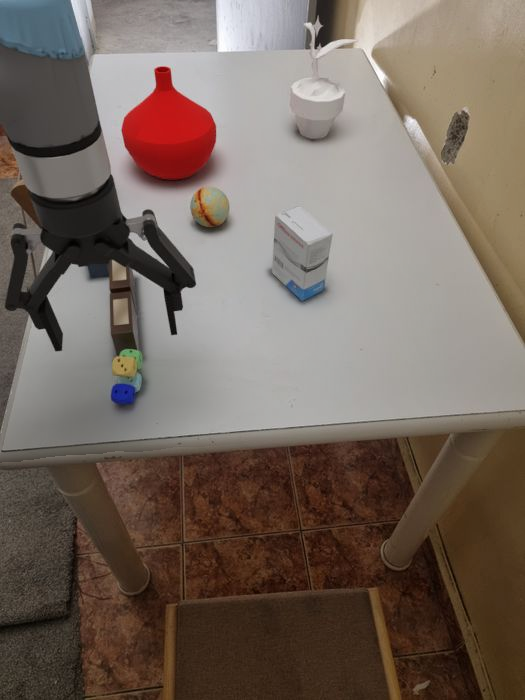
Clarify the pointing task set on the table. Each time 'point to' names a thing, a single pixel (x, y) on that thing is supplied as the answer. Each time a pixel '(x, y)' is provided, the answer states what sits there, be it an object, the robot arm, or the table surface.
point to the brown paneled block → (123, 308)
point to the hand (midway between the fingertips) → (117, 334)
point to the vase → (169, 132)
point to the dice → (126, 376)
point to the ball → (209, 206)
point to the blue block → (98, 270)
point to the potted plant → (317, 93)
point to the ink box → (300, 252)
